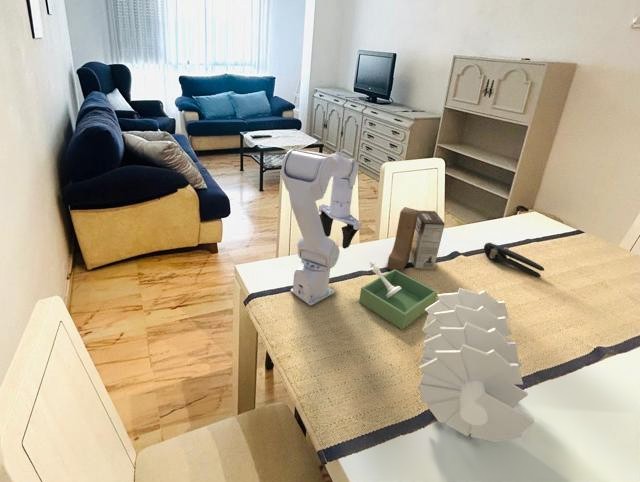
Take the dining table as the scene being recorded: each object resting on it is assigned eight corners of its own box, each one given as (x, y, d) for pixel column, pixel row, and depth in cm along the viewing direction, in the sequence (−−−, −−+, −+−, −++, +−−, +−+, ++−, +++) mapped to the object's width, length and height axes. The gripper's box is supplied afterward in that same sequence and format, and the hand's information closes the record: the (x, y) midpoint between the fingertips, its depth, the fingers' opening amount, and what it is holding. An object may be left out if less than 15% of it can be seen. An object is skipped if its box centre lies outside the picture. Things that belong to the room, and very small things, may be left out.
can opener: (477, 257, 127) (481, 242, 125) (486, 251, 132) (490, 236, 130) (537, 282, 115) (542, 266, 113) (544, 274, 120) (550, 259, 118)
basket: (401, 329, 93) (405, 314, 91) (358, 301, 102) (361, 287, 101) (434, 305, 102) (437, 291, 101) (392, 282, 112) (394, 268, 110)
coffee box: (406, 253, 128) (414, 209, 122) (425, 254, 128) (435, 210, 122) (414, 268, 119) (424, 222, 113) (435, 269, 119) (446, 223, 113)
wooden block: (400, 274, 116) (411, 220, 109) (386, 269, 118) (395, 216, 111) (408, 261, 123) (419, 210, 116) (394, 256, 125) (404, 206, 119)
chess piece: (397, 291, 99) (372, 259, 103) (384, 301, 102) (360, 269, 105) (404, 286, 103) (381, 255, 107) (392, 295, 105) (369, 265, 109)
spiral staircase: (431, 451, 70) (434, 351, 91) (545, 460, 61) (520, 348, 83) (401, 371, 65) (412, 286, 87) (520, 370, 57) (500, 276, 78)
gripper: (370, 204, 105) (364, 248, 110) (331, 188, 115) (327, 228, 120) (353, 210, 101) (347, 255, 106) (315, 193, 111) (311, 234, 116)
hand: (336, 241), depth 113 cm, fingers open, 7 cm apart
